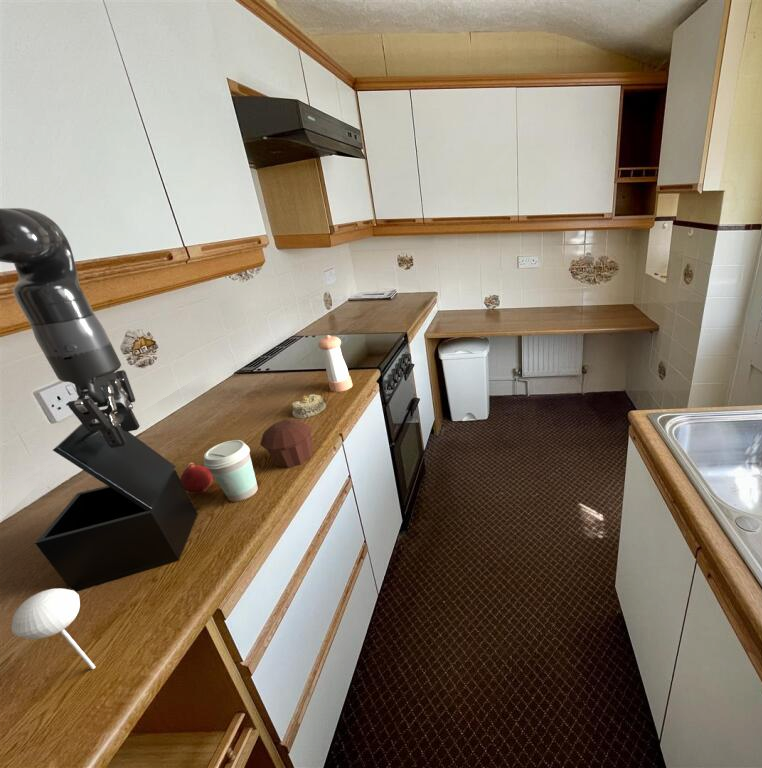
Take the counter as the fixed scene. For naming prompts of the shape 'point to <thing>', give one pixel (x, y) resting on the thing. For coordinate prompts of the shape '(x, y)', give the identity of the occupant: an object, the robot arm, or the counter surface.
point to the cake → (308, 406)
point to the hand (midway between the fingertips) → (125, 437)
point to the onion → (196, 478)
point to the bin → (117, 535)
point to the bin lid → (119, 463)
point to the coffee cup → (232, 469)
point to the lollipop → (49, 617)
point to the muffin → (288, 442)
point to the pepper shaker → (335, 364)
